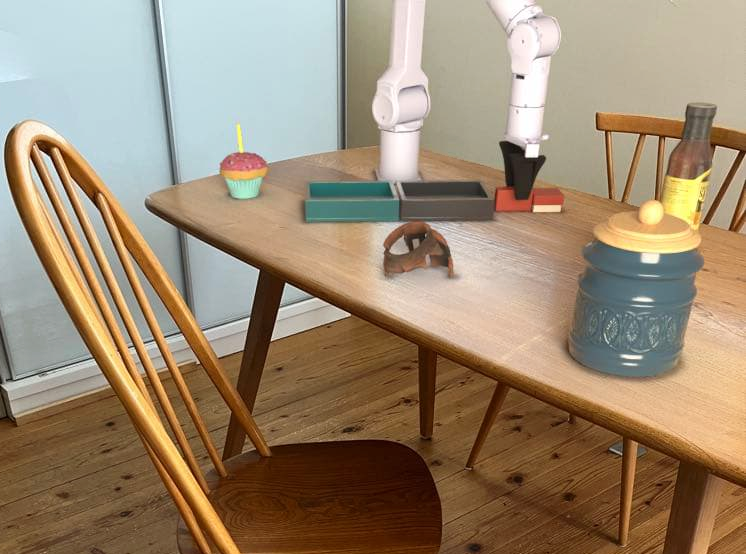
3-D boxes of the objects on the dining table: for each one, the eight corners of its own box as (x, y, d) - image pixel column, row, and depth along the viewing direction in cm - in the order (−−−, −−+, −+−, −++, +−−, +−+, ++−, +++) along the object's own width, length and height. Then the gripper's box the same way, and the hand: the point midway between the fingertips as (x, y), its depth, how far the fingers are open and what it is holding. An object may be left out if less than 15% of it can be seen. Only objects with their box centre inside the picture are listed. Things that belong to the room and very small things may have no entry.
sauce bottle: (695, 255, 134) (730, 110, 122) (652, 252, 135) (682, 108, 123) (690, 242, 139) (723, 101, 127) (649, 239, 140) (677, 99, 128)
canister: (596, 324, 113) (623, 177, 103) (697, 352, 107) (736, 198, 96) (545, 358, 105) (569, 202, 95) (651, 390, 98) (688, 226, 88)
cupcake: (214, 191, 161) (209, 118, 153) (259, 186, 163) (256, 114, 156) (230, 204, 154) (225, 129, 147) (277, 198, 157) (274, 124, 150)
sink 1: (305, 201, 156) (304, 181, 154) (392, 201, 156) (392, 180, 154) (305, 222, 147) (305, 200, 145) (398, 221, 147) (399, 199, 145)
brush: (492, 205, 155) (494, 184, 153) (555, 204, 155) (558, 184, 153) (496, 213, 151) (499, 192, 149) (561, 212, 151) (564, 191, 149)
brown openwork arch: (464, 288, 124) (444, 241, 118) (401, 316, 127) (378, 272, 121) (449, 238, 132) (428, 193, 126) (389, 266, 134) (367, 222, 128)
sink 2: (394, 201, 156) (395, 180, 154) (480, 200, 157) (482, 179, 155) (400, 221, 147) (401, 199, 145) (492, 220, 148) (494, 199, 146)
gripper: (562, 113, 138) (550, 204, 146) (541, 95, 149) (531, 181, 157) (517, 113, 137) (507, 205, 145) (499, 95, 149) (491, 181, 157)
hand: (517, 192), depth 151 cm, fingers open, 7 cm apart
